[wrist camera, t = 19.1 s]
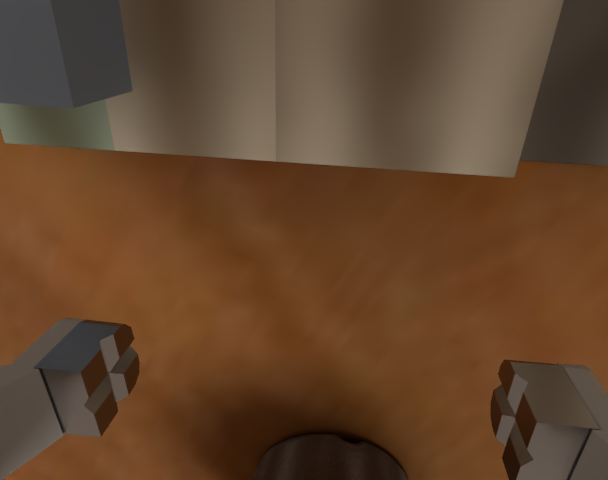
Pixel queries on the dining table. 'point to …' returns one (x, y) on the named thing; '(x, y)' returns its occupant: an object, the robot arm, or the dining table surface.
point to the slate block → (62, 52)
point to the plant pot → (326, 460)
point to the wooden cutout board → (351, 84)
